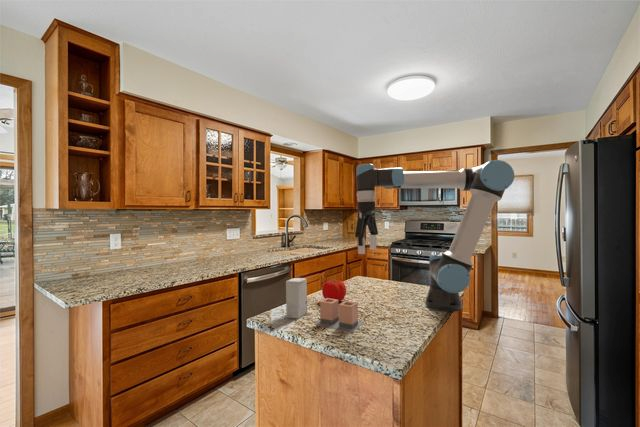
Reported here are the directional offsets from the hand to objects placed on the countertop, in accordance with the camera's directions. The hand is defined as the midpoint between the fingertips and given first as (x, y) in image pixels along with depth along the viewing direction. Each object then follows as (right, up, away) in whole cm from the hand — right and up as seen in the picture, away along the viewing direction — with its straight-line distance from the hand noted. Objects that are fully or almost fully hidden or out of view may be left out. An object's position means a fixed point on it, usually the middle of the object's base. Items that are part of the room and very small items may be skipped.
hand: (367, 251), depth 130 cm
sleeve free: (-16, -25, -12) cm, 32 cm away
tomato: (-13, -26, +16) cm, 33 cm away
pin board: (-13, -26, -14) cm, 32 cm away
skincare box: (-30, -26, -3) cm, 40 cm away
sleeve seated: (-10, -25, -16) cm, 31 cm away
